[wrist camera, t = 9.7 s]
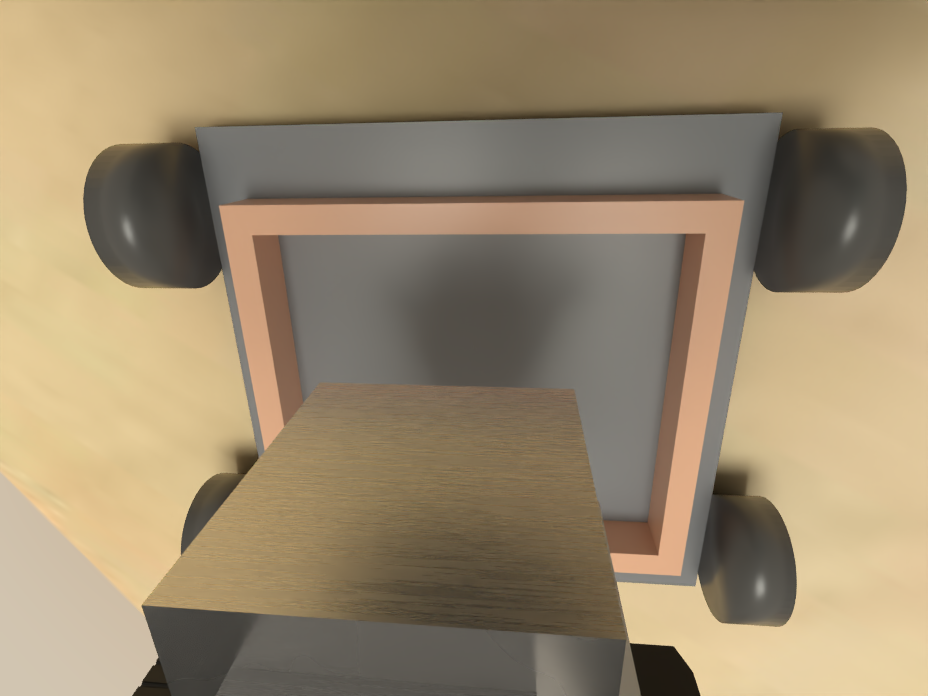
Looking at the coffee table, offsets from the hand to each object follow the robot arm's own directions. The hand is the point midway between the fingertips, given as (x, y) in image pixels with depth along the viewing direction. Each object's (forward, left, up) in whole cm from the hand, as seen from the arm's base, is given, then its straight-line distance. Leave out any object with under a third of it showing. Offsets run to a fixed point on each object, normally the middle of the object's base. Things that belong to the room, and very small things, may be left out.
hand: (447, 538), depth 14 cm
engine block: (0, 0, 0) cm, 0 cm away
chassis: (0, 0, -10) cm, 10 cm away
